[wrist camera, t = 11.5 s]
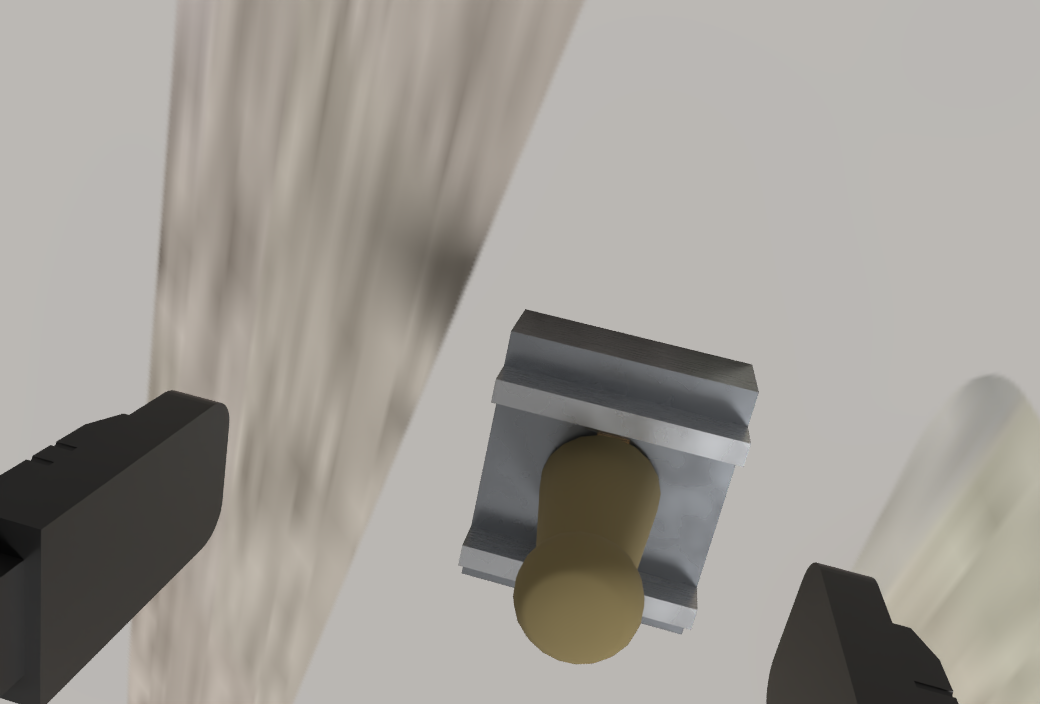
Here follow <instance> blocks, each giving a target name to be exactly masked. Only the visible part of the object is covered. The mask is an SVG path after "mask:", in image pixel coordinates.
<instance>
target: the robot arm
mask: <svg viewBox="0 0 1040 704" xmlns="http://www.w3.org/2000/svg"><path fill="white" fill-rule="evenodd" d="M228 431H229V413H228V409H227V407H226V406H225V405H224V404H223V403H219V402H215V401H212V400H208V399H204V398H200V397H197V396H193V395H189V394H185V393H182V392H178V391H173V390H171V391H167V392H165V393H163V394H162V395H160V396H159V397H157V398H156V399H154V400H152V401H151V402H149V403H148V404H146V405H145V406H143V407H141V408H140V409H138V410H136V411H135V412H133V413H132V414H130V415H127V414H121V415H117V416H114V417H110V418H107V419H103V420H99V421H96V422H92V423H89V424H85V425H83V426H82V427H80V428H78V429H77V430H75V431H74V432H72V433H70V434H68V435H67V436H65V437H63V438H62V439H60V440H58V441H57V442H56V445H55V446H52V445H50V446H48V447H47V448H45V449H43V450H42V451H40V452H39V453H37V454H35V455H33V457H32V460H31V461H30V460H25V461H23V462H22V463H20V464H18V465H17V466H15V467H13V468H12V469H10V470H8V471H7V472H5V473H3V474H2V475H0V698H2V699H5V700H9V701H12V702H15V703H18V704H47V703H48V702H49V701H50V700H51V699H52V698H53V697H54V696H55V695H56V694H57V693H58V692H59V691H60V690H61V689H62V688H63V687H64V686H65V685H66V684H67V683H68V682H69V681H70V680H71V679H72V678H73V677H74V676H75V675H76V674H77V673H78V672H79V671H80V670H81V669H82V668H83V667H84V666H85V665H86V664H87V663H88V662H89V661H90V660H91V659H92V658H93V657H94V656H95V655H96V654H97V653H98V652H99V651H100V650H101V649H102V648H103V647H104V646H105V645H106V644H107V643H108V642H109V641H110V640H111V639H112V638H113V637H114V636H115V635H116V634H117V633H118V632H119V631H120V630H121V629H122V628H123V627H124V626H125V625H126V624H127V623H128V622H129V621H130V620H131V619H132V618H133V617H134V616H135V615H136V614H137V613H138V612H139V611H140V610H141V609H142V608H143V607H144V606H145V605H146V604H147V603H148V602H149V601H150V600H151V599H152V598H153V597H154V596H155V595H156V594H157V593H158V592H159V591H160V590H161V589H162V588H163V587H164V586H165V585H166V584H167V583H168V582H169V581H170V580H171V579H172V578H173V577H174V576H175V575H176V574H177V573H178V572H179V571H180V570H181V569H182V568H183V567H184V566H185V565H186V564H187V563H188V562H189V561H190V560H191V559H192V558H193V557H194V556H195V555H196V554H197V553H198V552H199V551H200V550H201V549H202V548H203V547H204V546H205V544H206V543H207V541H208V540H209V538H210V537H211V535H212V533H213V531H214V529H215V526H216V524H217V521H218V519H219V515H220V511H221V507H222V499H223V488H224V476H225V465H226V454H227V442H228ZM952 694H953V690H952V688H951V685H950V683H949V681H948V678H947V676H946V674H945V672H944V669H943V667H942V665H941V662H940V660H939V659H938V658H937V657H936V655H935V654H934V653H933V652H932V651H931V650H930V649H929V648H928V647H927V646H926V644H925V643H924V642H923V641H922V640H921V639H920V638H919V637H918V636H917V635H916V633H915V632H914V631H913V630H912V629H911V628H908V627H905V626H901V625H897V624H894V623H892V621H891V618H890V615H889V613H888V610H887V607H886V605H885V602H884V600H883V597H882V594H881V592H880V589H879V586H878V584H877V582H876V580H875V579H874V578H872V577H869V576H865V575H861V574H857V573H854V572H850V571H846V570H842V569H839V568H835V567H831V566H827V565H823V564H819V563H813V564H811V565H810V566H809V568H808V569H807V571H806V573H805V575H804V578H803V580H802V583H801V586H800V588H799V591H798V594H797V597H796V599H795V602H794V605H793V607H792V610H791V613H790V616H789V618H788V621H787V624H786V626H785V629H784V632H783V634H782V637H781V640H780V643H779V645H778V648H777V651H776V654H775V657H774V659H773V662H772V666H771V670H770V675H769V681H768V687H767V704H958V702H957V699H956V698H954V697H952Z"/></svg>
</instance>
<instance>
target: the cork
mask: <svg viewBox="0 0 1040 704" xmlns="http://www.w3.org/2000/svg"><path fill="white" fill-rule="evenodd" d="M660 495H661V492H660V486H659V479H658V476H657V474H656V472H655V470H654V468H653V466H652V464H651V463H650V461H649V460H648V459H647V458H646V457H645V456H644V455H643V454H642V453H641V452H640V451H639V450H638V449H637V448H636V447H634V446H632V445H630V444H628V443H626V442H624V441H622V440H620V439H618V438H613V437H607V436H602V435H594V436H584V437H579V438H577V439H574V440H572V441H570V442H567V443H565V444H563V445H562V446H561V447H560V448H558V449H557V450H556V451H555V452H554V453H553V454H552V455H551V456H550V457H549V459H548V461H547V463H546V465H545V466H544V468H543V470H542V474H541V481H540V489H539V506H538V523H537V540H536V548H534V549H533V550H532V551H531V552H530V553H529V554H528V555H527V557H526V559H525V560H524V562H523V564H522V566H521V568H520V569H519V571H518V574H517V577H516V580H515V587H514V594H513V599H514V607H515V611H516V616H517V620H518V623H519V624H520V626H521V627H522V629H523V631H524V633H525V634H526V636H527V637H528V639H529V640H530V641H531V642H532V643H533V644H534V645H535V646H536V647H538V648H539V649H540V650H541V651H542V652H543V653H545V654H547V655H549V656H551V657H553V658H555V659H557V660H559V661H563V662H568V663H572V664H590V663H595V662H598V661H601V660H604V659H607V658H610V657H612V656H614V655H615V654H616V653H618V652H619V651H620V650H622V649H623V648H624V647H626V646H627V645H628V644H629V642H630V641H631V639H632V637H633V636H634V634H635V633H636V631H637V629H638V628H639V626H640V624H641V620H642V615H643V610H644V600H645V597H644V591H643V585H642V579H641V577H640V574H639V572H638V570H637V569H638V566H639V563H640V560H641V557H642V554H643V551H644V548H645V546H646V543H647V540H648V537H649V534H650V531H651V528H652V525H653V522H654V519H655V516H656V513H657V510H658V505H659V500H660Z"/></svg>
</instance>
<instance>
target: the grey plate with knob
mask: <svg viewBox="0 0 1040 704" xmlns="http://www.w3.org/2000/svg"><path fill="white" fill-rule="evenodd" d="M758 393H759V391H758V387H757V383H756V379H755V374H754V370H753V366H752V365H751V364H747V363H743V362H739V361H734V360H731V359H726V358H722V357H718V356H714V355H710V354H706V353H702V352H698V351H694V350H690V349H685V348H682V347H678V346H673V345H669V344H665V343H661V342H657V341H653V340H648V339H645V338H640V337H637V336H632V335H628V334H624V333H620V332H616V331H612V330H608V329H604V328H600V327H596V326H592V325H587V324H583V323H579V322H575V321H571V320H567V319H563V318H559V317H555V316H550V315H547V314H542V313H538V312H534V311H530V310H526V309H525V311H524V312H523V314H522V315H521V317H520V319H519V320H518V322H517V323H516V325H515V326H514V328H513V329H512V331H511V335H510V340H509V345H508V350H507V355H506V360H505V364H504V367H503V368H502V370H501V372H500V374H499V375H498V377H497V378H496V382H495V387H494V392H493V396H492V403H496V408H495V413H494V418H493V423H492V428H491V433H490V438H489V442H488V447H487V452H486V457H485V462H484V467H483V472H482V477H481V481H480V486H479V491H478V497H477V501H476V506H475V511H474V516H473V520H472V525H471V528H470V530H469V532H468V534H467V536H466V539H465V541H464V543H463V545H462V550H461V555H460V560H459V564H458V565H459V566H463V570H462V573H463V574H467V575H470V576H474V577H477V578H481V579H484V580H488V581H492V582H495V583H499V584H502V585H506V586H509V587H513V588H514V587H515V580H516V577H517V574H518V571H519V569H520V568H521V566H522V564H523V562H524V560H525V559H526V557H527V555H528V554H529V553H530V552H531V551H532V550H533V549H534V548H536V540H537V523H538V506H539V489H540V481H541V474H542V470H543V468H544V466H545V465H546V463H547V461H548V459H549V457H550V456H551V455H552V454H553V453H554V452H555V451H556V450H557V449H558V448H560V447H561V446H562V445H563V444H565V443H567V442H570V441H572V440H574V439H577V438H579V437H584V436H594V435H602V436H607V437H613V438H618V439H620V440H622V441H624V442H626V443H628V444H630V445H632V446H634V447H636V448H637V449H638V450H639V451H640V452H641V453H642V454H643V455H644V456H645V457H646V458H647V459H648V460H649V461H650V463H651V464H652V466H653V468H654V470H655V472H656V474H657V476H658V479H659V486H660V492H661V495H660V500H659V505H658V510H657V513H656V516H655V519H654V522H653V525H652V528H651V531H650V534H649V537H648V540H647V543H646V546H645V548H644V551H643V554H642V557H641V560H640V563H639V566H638V569H637V570H638V572H639V574H640V577H641V579H642V585H643V591H644V597H645V600H644V610H643V615H642V620H641V623H642V624H646V625H650V626H653V627H656V628H660V629H664V630H667V631H671V632H675V633H678V634H682V632H683V629H684V628H686V629H690V630H691V628H692V625H693V622H694V619H695V616H696V613H697V585H698V582H699V578H700V575H701V572H702V569H703V566H704V563H705V560H706V556H707V553H708V550H709V547H710V544H711V541H712V538H713V534H714V531H715V528H716V525H717V522H718V519H719V515H720V512H721V509H722V506H723V503H724V500H725V497H726V493H727V490H728V487H729V484H730V481H731V478H732V475H733V472H734V468H735V465H738V466H741V467H743V466H744V464H745V460H746V457H747V454H748V451H749V448H750V445H751V442H750V436H749V431H748V424H749V421H750V418H751V415H752V412H753V409H754V406H755V402H756V399H757V396H758Z"/></svg>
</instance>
